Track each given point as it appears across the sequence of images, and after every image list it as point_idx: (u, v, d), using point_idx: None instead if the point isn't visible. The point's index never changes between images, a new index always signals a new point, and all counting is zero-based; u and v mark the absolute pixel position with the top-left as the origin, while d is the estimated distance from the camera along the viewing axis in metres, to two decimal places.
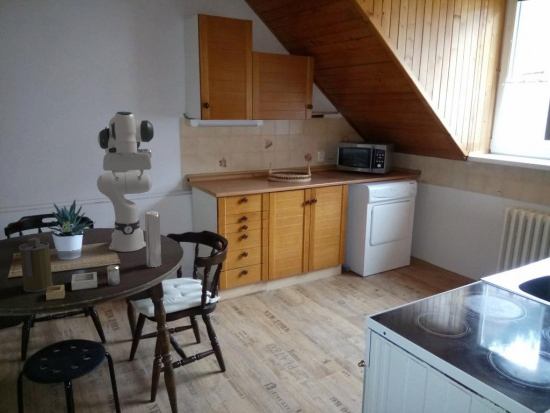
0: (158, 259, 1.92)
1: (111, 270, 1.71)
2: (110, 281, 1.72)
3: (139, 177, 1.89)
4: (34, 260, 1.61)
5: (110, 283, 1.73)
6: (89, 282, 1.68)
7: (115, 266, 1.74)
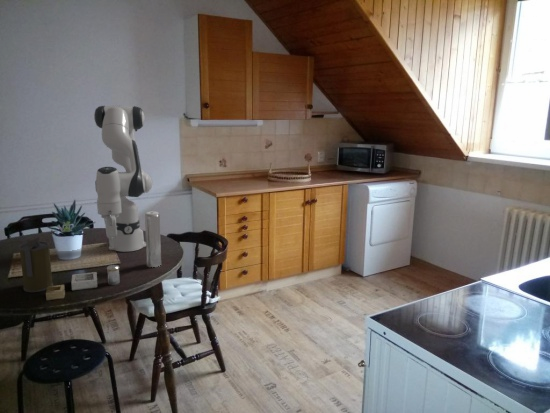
0: (158, 259, 1.92)
1: (111, 270, 1.71)
2: (110, 281, 1.72)
3: (109, 242, 1.66)
4: (34, 260, 1.61)
5: (110, 283, 1.73)
6: (89, 282, 1.68)
7: (115, 266, 1.74)
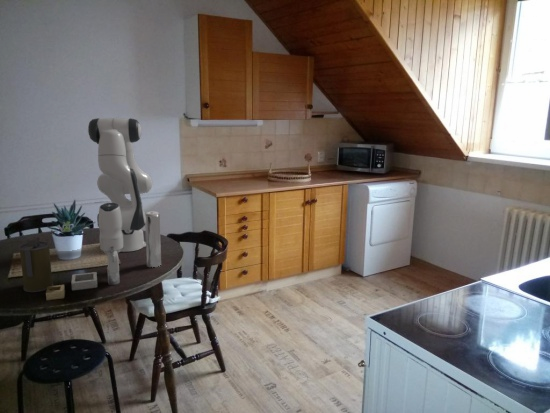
0: (158, 259, 1.92)
1: None
2: (110, 281, 1.72)
3: (111, 275, 1.71)
4: (34, 260, 1.61)
5: (110, 283, 1.73)
6: (89, 282, 1.68)
7: None
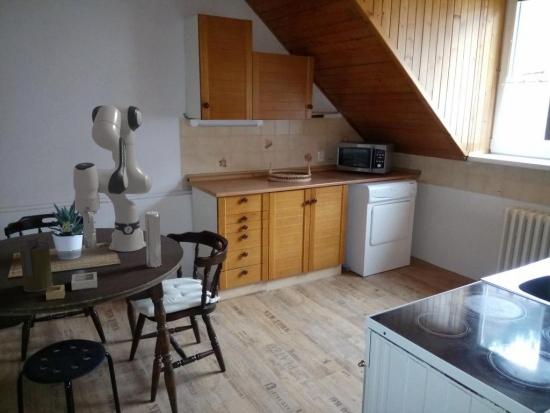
0: (158, 259, 1.92)
1: None
2: (86, 244, 1.67)
3: (87, 238, 1.65)
4: (34, 260, 1.61)
5: (86, 246, 1.67)
6: (89, 282, 1.68)
7: None
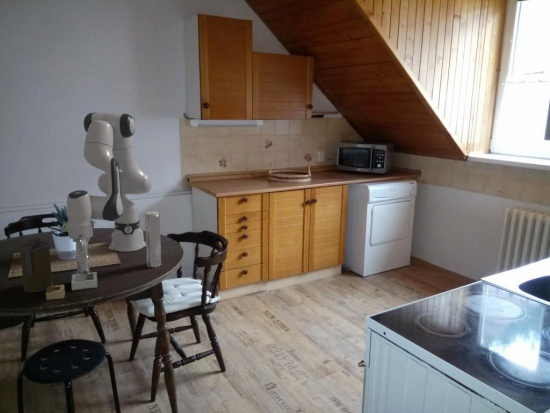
0: (158, 259, 1.92)
1: None
2: (79, 270, 1.69)
3: None
4: (34, 260, 1.61)
5: (79, 273, 1.69)
6: (89, 282, 1.68)
7: None
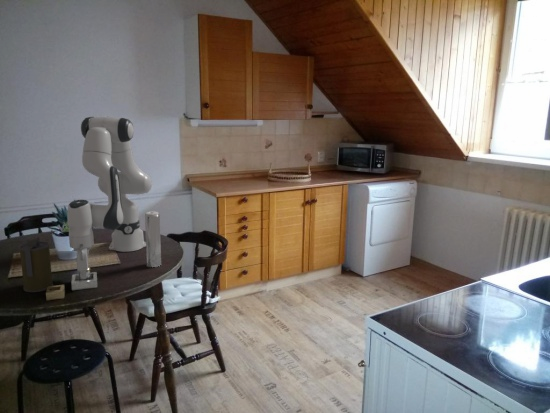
0: (158, 259, 1.92)
1: None
2: None
3: (81, 275, 1.66)
4: (34, 260, 1.61)
5: None
6: (89, 282, 1.68)
7: None
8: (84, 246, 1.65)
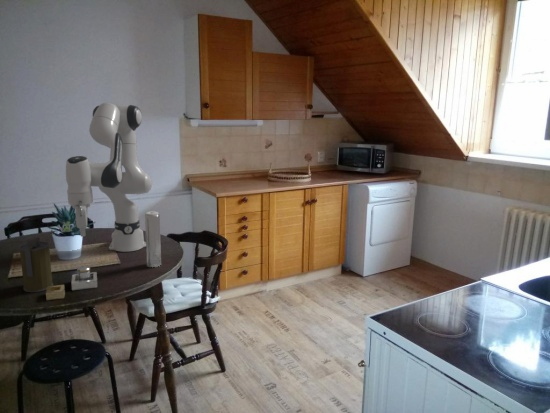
0: (158, 259, 1.92)
1: (81, 271, 1.69)
2: None
3: (80, 233, 1.64)
4: (34, 260, 1.61)
5: None
6: (89, 282, 1.68)
7: (86, 267, 1.71)
8: (83, 203, 1.62)
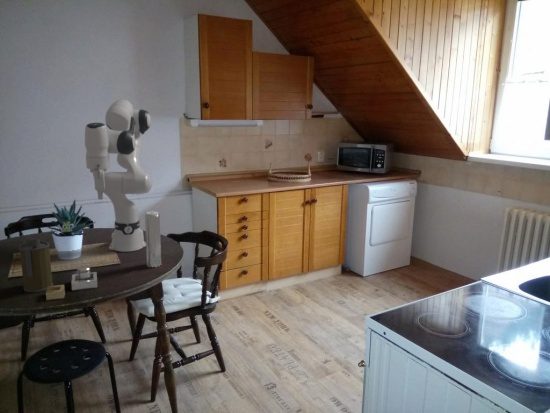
0: (158, 259, 1.92)
1: (81, 271, 1.69)
2: None
3: None
4: (34, 260, 1.61)
5: None
6: (89, 282, 1.68)
7: (86, 267, 1.71)
8: (101, 167, 1.69)
